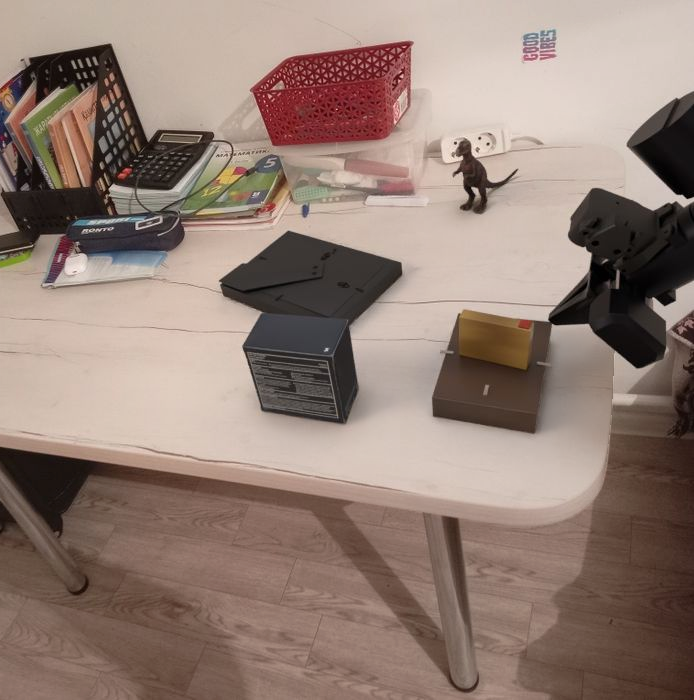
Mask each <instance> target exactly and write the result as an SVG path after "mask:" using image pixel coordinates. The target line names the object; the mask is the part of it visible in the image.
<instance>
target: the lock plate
mask: <svg viewBox="0 0 694 700" xmlns="http://www.w3.org/2000/svg"><path fill="white" fill-rule="evenodd" d="M461 313H462V312H458V313H457V316H456V319H455V322H454V325H453V329H452V332H451V335H450V338H449V340H448V341H449V342H448V344H447V348H446V350H445V349H440V351H439V354H445V355H444V357H443V361H442V364H441V367H440V370H439V374H438V377H437V380H436V383H435V386H434V389H433V393H432V396H431V405H432V406H431V407H432V408H431V410H432V416H433V417H436V418H442V419H448V420H455V421H460V422H465V423H471V424H476V425H483V426H489V427H495V428H500V429H506V430H512V431H518V432H524V433H529V434H536V430H537V423H538V418H539V411H540V405H541V398H542V394H543V393H542V392H543V387H544V382H545V374H546V369H547V367H550V368H551V367H552V366H553V362H548V356H549V350H550V344H551V336H552V330H553V324H552V323H551V322H550V321H548V320H546V321H545V320H536V319H529V320H530V321H532V322H534V331H533V340H532V350H531V360H530V363H529V366H528V368H527V370H524V369H519V368H515V367H511V366H506V365H502V364H498V363H493V362H489V361H485V360H480V359H476V358H472V357H467V356H463V355H459V316H460V315H461ZM513 318H514V319H516V318H515V317H513ZM518 319H519V320H521V319H522V318H518ZM524 319H525V318H524ZM525 320H527V319H525Z"/></svg>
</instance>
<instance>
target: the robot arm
mask: <svg viewBox="0 0 694 700" xmlns="http://www.w3.org/2000/svg"><path fill="white" fill-rule="evenodd" d="M626 147H627V148H628V149H629V150H630V151H631V152H632V153H633V155H635V156H636V157H637V158H638V159H639V160H640V161H641V162H642V163H643V164H644V165H645V166H646V167H647V168H648V169H649V170H650V171H651V172H652V173H653V174H654V175H655V176H656V177H657V178H658V179H660V181H661V182H662V183H664V184H665V185H666V187H667V188H668V189H670V191H672V192H673V194H674V195H676V196H683V197H684V198H685V199H686V200H690V199H694V90H693V91H690V92H689V93H686V94H684V95H683V96H681V97H680V98H679V97H675V98H674V99H672V100H671V101H669V102H668V103H666V104H665V105H663V106H662V107H661V108H659V110H657V111H656V112H655V113H653V115H651V116H650V117H649V118H647V120H645V122H643V123H642V124H641V125H640V126H639V127H638V128H637V129H636V130H635V131H634V133H633V134H632V135H630V138H629V139H628V140H627V141H626ZM569 219H570V225H569V230H568V232H567V239H568V240H569V241H570V242H571V243H572V244H574V245H575V246H578V247H580V248H585V249H586V251H587V252H588V253H590V262H589V267H588V271H587V272H586V274H585V275H584V276H583V277H582V278H581V280H580V281H579V282H578V283H577V284H576V285H575V286H574V287H573V288H572V290H570V291H569V292H568V294H567V295H566V296H565V297H564V298H563V299H562V300H561V301H560V302H559V303H557V305H556V306H555V307H554V308H553V309H552V310H551V311H550V312H549V313H548V318H547V322H551V323H552V326H555V327H556V326H575V325H579V326H580V325H588V326H589V328H590V330H591V331H592V333H593V334H594V335H595V336H597V338H599V339H600V340H602V341H603V342H604V343H605V344H606V345H607V346H608V347H610V348H611V349H612V350H614V351H615V352H616V353H617V354H618V355H619V356H621V357H622V358H623V359H624V360H626V361H627V362H628V363H629V364H630V365H632V366H633V367H634V368H635V369H636V370H639V369H643V368H646V367H648V366H650V365H654V364H655V363H657V362H661V361H662V360H664V358H665V354H666V351H667V320H666V319H664V318H663V317H662V316H661V315H660V314H659V313H658V312H656V311H655V310H654V300H653V298H654V299H655V300H656V301H657V302H659V303H660V304H661V305H662V306H663V307H666V306H669V305H670V304H672V303H675V302H677V290H679V289H680V288H683V287H684V286H687V285H689V284H690V283H692V282H694V201H692V202H690V203H688V204H687V205H685V206H683V205H682V204H681V203H679V202H678V201H677V200H675V201H674V202H672V203H671V202H666V203H665V204H663V205H661V206H659V207H658V208H656V209H653V210H652V209H651V208H648V207H646V206H644V205H643V204H641V203H639V202H637V201H636V200H634V199H630V198H628V197H625V196H622V195H619V194H617V193H614V192H611V191H609V190H606V189H604V188H601V187H592V188H591V189H590V190H589V191H588V193H587V194H586V195H585V197H584V198H583V199H582V201H581V202H580V204H579V205H578V206H577V207H576V209H575V210H574V212H573V213H572V214H571V215H570V218H569Z"/></svg>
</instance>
